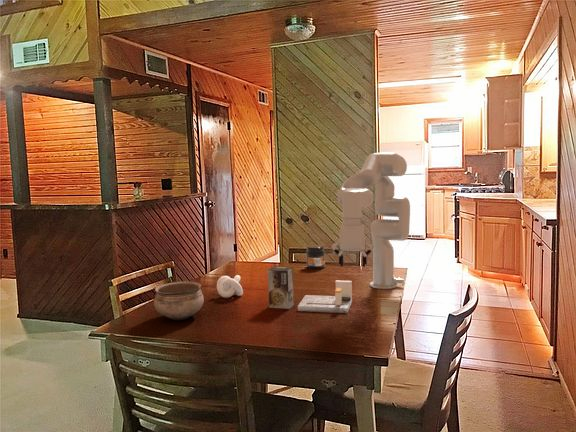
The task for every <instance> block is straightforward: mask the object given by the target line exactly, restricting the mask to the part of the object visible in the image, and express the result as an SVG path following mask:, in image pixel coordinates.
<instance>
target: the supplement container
mask: <svg viewBox="0 0 576 432" xmlns="http://www.w3.org/2000/svg"><path fill="white" fill-rule="evenodd" d="M305 253H306V256H305V257H306V258H305V259H306V268H308V269H310V270H321V269H323V268H325V267H326V259H325V258H326V257H325V256H326V255H325V254H326V252H325V246H324V245H320V244H314V245H312V244H311V245H307V246H306V252H305Z"/></svg>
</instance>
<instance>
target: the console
mask: <svg viewBox="0 0 576 432" xmlns="http://www.w3.org/2000/svg"><path fill="white" fill-rule="evenodd" d="M352 302H353V296H352V297H351V299H349V300H342V303H341V305H335V295H312V294H305V295H304V297H303V298H302V300H301V301H299V304H298V305H297V312H310V313H311V312H314V313H315V312H316V313H333V314H334V313H335V314H339V313H340V314H348V313H349V310H350V307H351V305H352Z"/></svg>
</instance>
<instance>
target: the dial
mask: <svg viewBox="0 0 576 432" xmlns="http://www.w3.org/2000/svg"><path fill="white" fill-rule="evenodd" d="M336 288H342V300H349V299H351V297H352V298H353V290H352V289H353V286H352V280H338V279H336V280H335V289H336Z"/></svg>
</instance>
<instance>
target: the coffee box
mask: <svg viewBox="0 0 576 432" xmlns="http://www.w3.org/2000/svg"><path fill="white" fill-rule="evenodd" d="M293 274H294V273H293V267H292V266H291V267H289V266H272V267H270V268H269V269H267V282H268V283H267V284H268V285H267V286H268V308H270V309H285V310H289V309H291V308H292V307H293V306H294V304H295V302H294V300H295V299H294V275H293Z"/></svg>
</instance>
